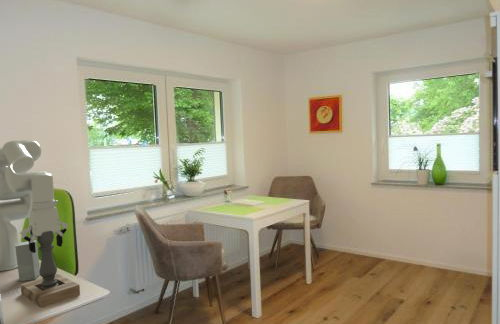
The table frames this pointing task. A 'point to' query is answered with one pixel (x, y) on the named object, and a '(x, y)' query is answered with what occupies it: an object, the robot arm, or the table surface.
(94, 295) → the table surface
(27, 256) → the skincare box
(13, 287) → the table surface
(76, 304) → the table surface
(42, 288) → the candle holder
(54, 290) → the holder board
